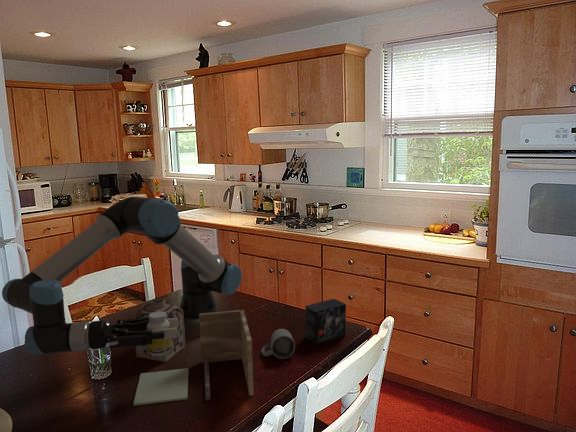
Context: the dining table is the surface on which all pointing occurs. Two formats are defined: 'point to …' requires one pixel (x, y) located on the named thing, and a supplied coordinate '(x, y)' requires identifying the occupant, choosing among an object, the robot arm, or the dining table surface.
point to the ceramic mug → (280, 345)
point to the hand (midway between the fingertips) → (177, 327)
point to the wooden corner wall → (226, 343)
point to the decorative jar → (171, 312)
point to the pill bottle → (158, 322)
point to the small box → (325, 321)
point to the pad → (162, 387)
